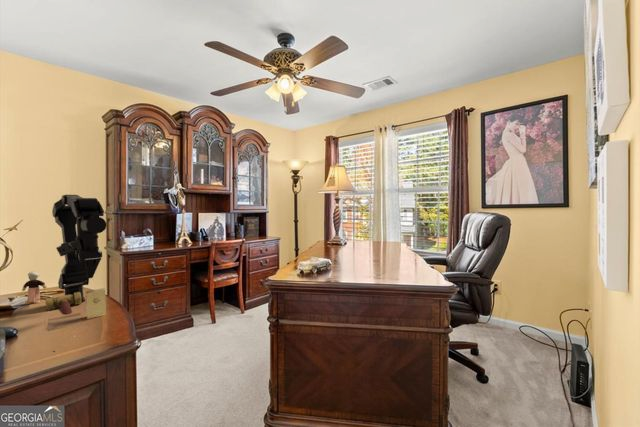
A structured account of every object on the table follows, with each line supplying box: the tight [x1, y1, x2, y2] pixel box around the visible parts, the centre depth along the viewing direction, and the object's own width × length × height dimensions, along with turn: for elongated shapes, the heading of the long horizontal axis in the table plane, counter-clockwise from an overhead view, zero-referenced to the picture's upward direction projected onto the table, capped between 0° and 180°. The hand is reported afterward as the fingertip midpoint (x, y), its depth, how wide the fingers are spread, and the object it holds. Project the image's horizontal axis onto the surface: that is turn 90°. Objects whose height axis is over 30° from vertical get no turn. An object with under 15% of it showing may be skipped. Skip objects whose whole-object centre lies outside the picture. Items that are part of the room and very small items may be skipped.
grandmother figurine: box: [21, 271, 47, 305], centre depth 118 cm, size 8×4×13 cm, turn 120°
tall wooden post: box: [85, 287, 107, 320], centre depth 99 cm, size 3×5×10 cm
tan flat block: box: [47, 313, 83, 332], centre depth 94 cm, size 12×8×2 cm
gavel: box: [45, 292, 82, 316], centre depth 107 cm, size 21×5×10 cm
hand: (89, 276), depth 106 cm, fingers open, 9 cm apart
